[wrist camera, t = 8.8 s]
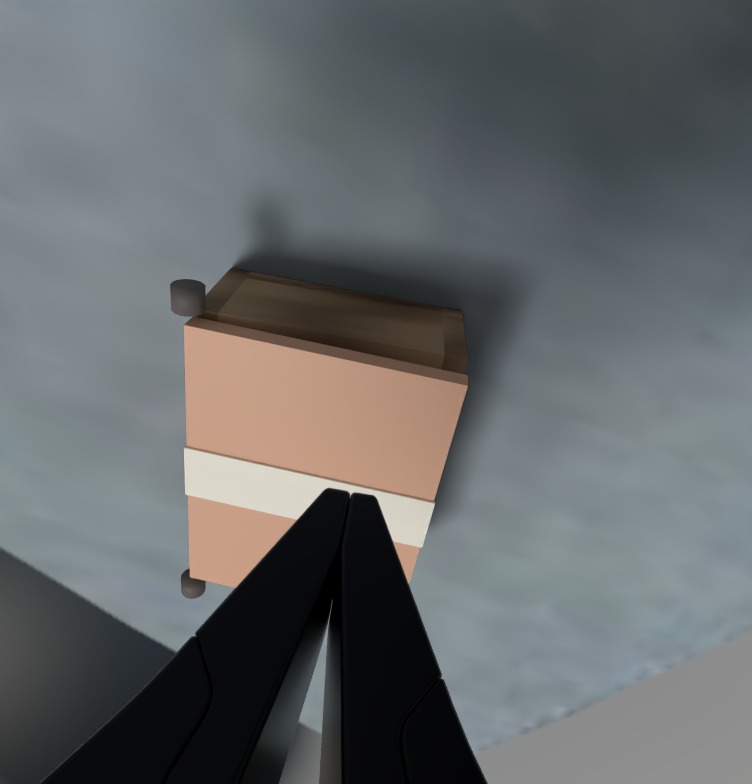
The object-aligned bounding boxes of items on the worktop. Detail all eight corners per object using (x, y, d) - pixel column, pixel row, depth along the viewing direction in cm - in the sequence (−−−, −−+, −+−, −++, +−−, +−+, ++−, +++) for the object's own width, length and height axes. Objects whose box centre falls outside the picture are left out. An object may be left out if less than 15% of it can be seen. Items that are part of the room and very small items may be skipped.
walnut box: (468, 287, 19) (478, 347, 15) (398, 548, 25) (393, 634, 22) (217, 241, 18) (165, 288, 15) (214, 516, 25) (177, 596, 21)
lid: (469, 375, 16) (469, 387, 15) (400, 611, 21) (398, 627, 21) (191, 316, 16) (181, 325, 15) (194, 564, 21) (187, 578, 21)
